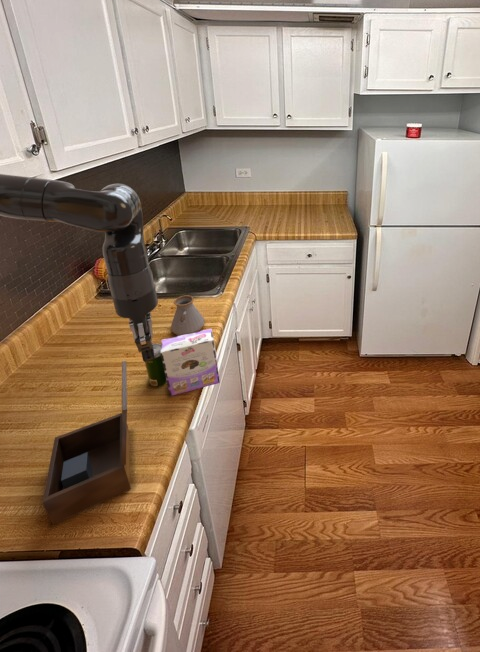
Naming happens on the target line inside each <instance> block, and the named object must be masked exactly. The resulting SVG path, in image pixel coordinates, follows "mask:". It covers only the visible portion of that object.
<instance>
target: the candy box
mask: <svg viewBox="0 0 480 652" xmlns="http://www.w3.org/2000/svg"><path fill="white" fill-rule="evenodd" d="M214 339H215V338H214V333H213V329H212V328H208V329H204V330H200V331H199V332H195V333H190V334H186V335H181V336H178V335H176V336H173V337H168V338H164V339H163V338H162V339H161V343H160V344H161V353H160V354H161V357H162V362H163V366H164V371H165V375H166V380H167V382H166V384H167V388H168V394H169V396H170V397H171V396H175V395H176V396H177V395H180V394H184V393H187V392H191V391H195V390H199V389H203V388H206V387H209V386H214V385H218V384H220V381H221V380H220V373H219V366H218V365H219V364H218V359H217V350H216V344H215V340H214Z"/></svg>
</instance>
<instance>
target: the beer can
mask: <svg viewBox="0 0 480 652" xmlns="http://www.w3.org/2000/svg"><path fill="white" fill-rule="evenodd" d="M153 349H154V355H155V358H154V359H153V360H150V361H147V362H144V364H145V365H144V366H145V368H146V373H147V378H148V381H149V384H150V386H151V387H153V388H154V387H155V388H156V387H162V386H163V385H166V384H167V380H166V375H165V371H164V366H163V362H162V357H161V354H160V353H161V343H153Z"/></svg>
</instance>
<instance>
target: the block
mask: <svg viewBox="0 0 480 652" xmlns="http://www.w3.org/2000/svg"><path fill="white" fill-rule="evenodd" d="M89 478H92V463H91V460H90V458H89V455H88V452H87V453H84V454H82V455H79V456H77V457H75V458H72V459H70V460H67V461H65V462H64V463H63V470H62V477H61V482H62V484H63V487H64V489H66V488H68V487H71V486H73V485H75V484H78V483H80V482H82V481H85V480H87V479H89Z"/></svg>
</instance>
